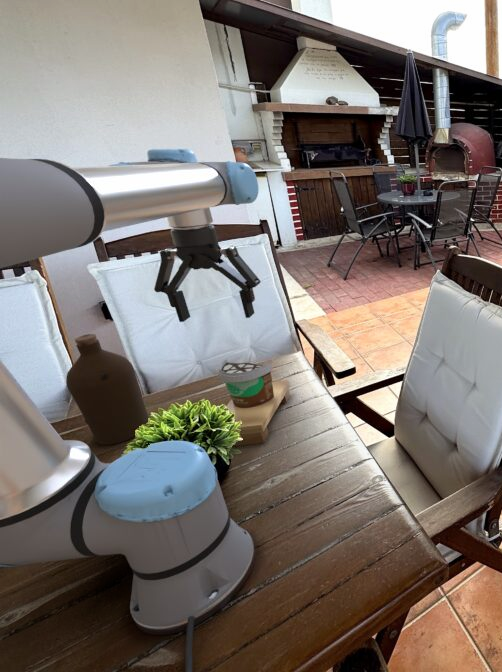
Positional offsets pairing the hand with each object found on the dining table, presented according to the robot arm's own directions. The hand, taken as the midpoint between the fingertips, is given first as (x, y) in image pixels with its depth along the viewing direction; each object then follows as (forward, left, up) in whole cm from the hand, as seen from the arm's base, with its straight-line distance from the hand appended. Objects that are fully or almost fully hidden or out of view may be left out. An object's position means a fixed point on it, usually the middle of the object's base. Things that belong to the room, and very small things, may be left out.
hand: (218, 317), depth 91 cm
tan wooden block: (-3, -4, -27) cm, 27 cm away
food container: (-3, -3, -22) cm, 22 cm away
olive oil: (-2, +25, -27) cm, 37 cm away
